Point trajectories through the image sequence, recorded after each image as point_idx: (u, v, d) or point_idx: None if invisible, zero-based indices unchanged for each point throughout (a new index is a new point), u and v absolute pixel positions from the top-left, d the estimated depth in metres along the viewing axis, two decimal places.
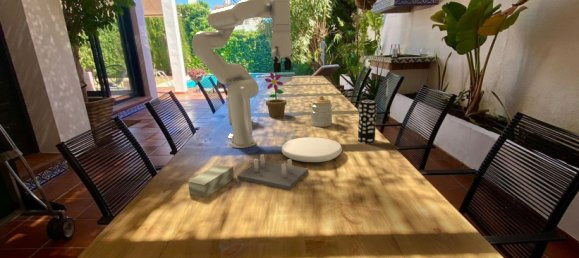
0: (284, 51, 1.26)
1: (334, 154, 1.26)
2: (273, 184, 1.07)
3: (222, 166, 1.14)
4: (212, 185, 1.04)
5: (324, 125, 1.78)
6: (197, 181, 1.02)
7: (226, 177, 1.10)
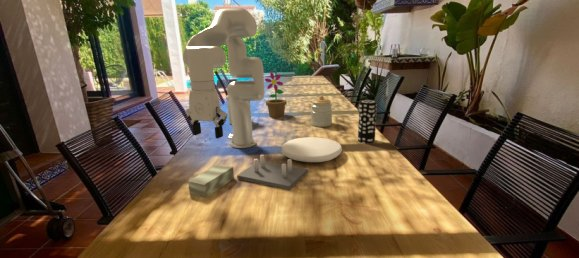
0: None
1: (334, 154, 1.26)
2: (273, 184, 1.07)
3: (222, 166, 1.14)
4: (212, 185, 1.04)
5: (324, 125, 1.78)
6: (197, 181, 1.02)
7: (226, 177, 1.10)
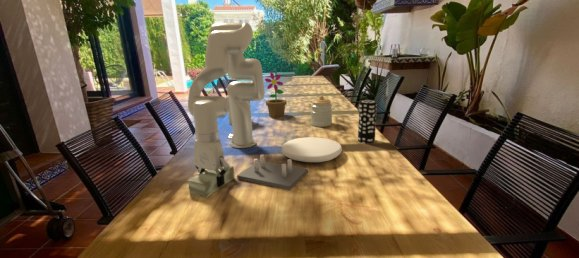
0: None
1: (334, 154, 1.26)
2: (273, 184, 1.07)
3: None
4: (212, 185, 1.04)
5: (324, 125, 1.78)
6: (197, 180, 1.02)
7: (226, 176, 1.10)
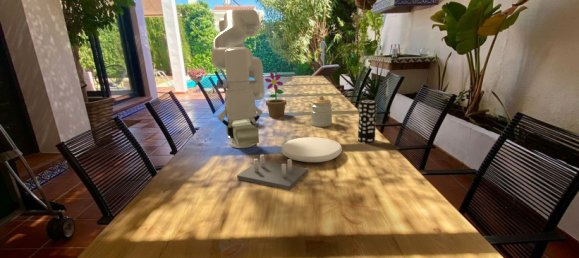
0: None
1: (334, 154, 1.26)
2: (273, 184, 1.07)
3: None
4: None
5: (324, 125, 1.78)
6: (246, 129, 1.01)
7: None
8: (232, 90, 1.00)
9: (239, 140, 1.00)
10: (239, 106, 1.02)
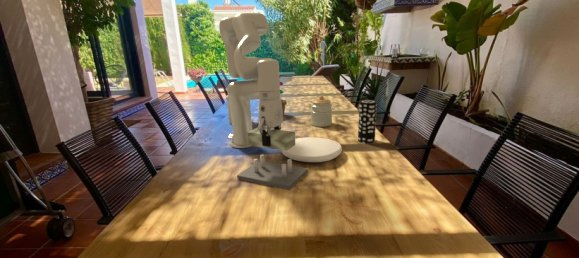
0: None
1: (335, 154, 1.26)
2: (273, 184, 1.07)
3: (255, 130, 1.14)
4: None
5: (324, 125, 1.78)
6: (287, 134, 1.08)
7: None
8: (271, 99, 1.04)
9: (286, 145, 1.06)
10: (275, 114, 1.07)
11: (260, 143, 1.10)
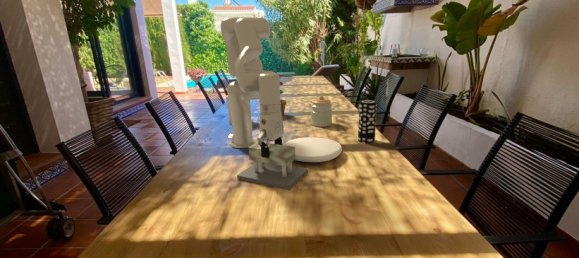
0: None
1: (335, 154, 1.26)
2: (273, 184, 1.07)
3: (255, 145, 1.16)
4: None
5: (324, 125, 1.78)
6: (287, 149, 1.10)
7: None
8: (272, 112, 1.05)
9: (286, 160, 1.08)
10: (276, 126, 1.08)
11: (261, 158, 1.12)
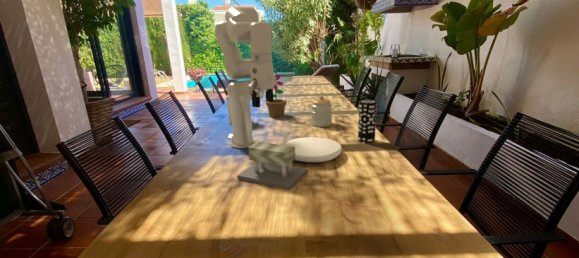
0: None
1: (335, 154, 1.26)
2: (273, 184, 1.07)
3: (255, 145, 1.16)
4: None
5: (324, 125, 1.78)
6: (287, 149, 1.10)
7: None
8: (263, 62, 1.07)
9: (286, 160, 1.08)
10: (267, 77, 1.10)
11: (261, 158, 1.12)
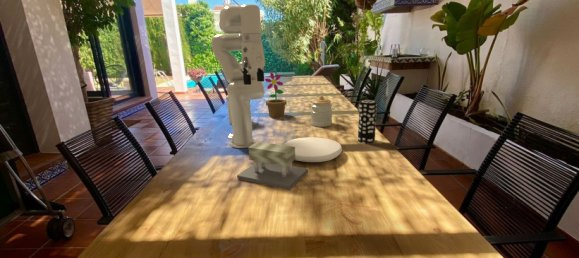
0: None
1: (335, 154, 1.26)
2: (273, 184, 1.07)
3: (255, 145, 1.16)
4: None
5: (324, 125, 1.78)
6: (287, 149, 1.10)
7: None
8: (253, 41, 1.15)
9: (286, 160, 1.08)
10: (257, 56, 1.18)
11: (261, 158, 1.12)
